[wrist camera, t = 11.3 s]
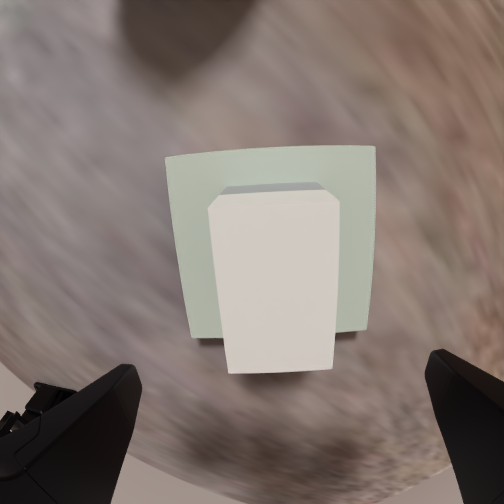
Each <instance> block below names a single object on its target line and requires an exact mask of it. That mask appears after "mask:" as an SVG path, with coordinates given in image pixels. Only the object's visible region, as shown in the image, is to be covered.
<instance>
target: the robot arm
mask: <svg viewBox="0 0 504 504" xmlns="http://www.w3.org/2000/svg"><path fill="white" fill-rule="evenodd" d="M425 380H426V383H427V387H428V391H429V394H430V398H431V402H432V406H433V410H434V413H435V417H436V420H437V423H438V425H439V428H440V431H441V434H442V436H443V439H444V442H445V445H446V448H447V451H448V454H449V457H450V460H451V463H452V466H453V469H454V472H455V475H456V479H457V482H458V485H459V489H460V492H461V496H462V499H463V503H464V504H504V382H503V381H501V380H499V379H498V378H496V377H494V376H492V375H490V374H489V373H487V372H485V371H483V370H481V369H479V368H478V367H476V366H474V365H472V364H470V363H469V362H467V361H465V360H463V359H461V358H459V357H458V356H456V355H454V354H452V353H450V352H448V351H447V350H445V349H438V350H433V351H432V352H431V353H430V356H429V359H428V363H427V366H426V369H425ZM34 388H35V389H36V393H35V394H34V395H33V397H32V398H31V399H30V401H29V402H28V403H27V405H26V406H25V409H26V410H25V412H24V413H23V414H22V416H20V414H19V413H18V412H17V411H16V412H15V413H12V412H10V411H7V412H6V414H5V415H4V416H3V418H2V419H1V420H0V504H111V500H112V497H113V493H114V490H115V487H116V484H117V480H118V477H119V474H120V470H121V467H122V464H123V461H124V458H125V455H126V452H127V449H128V446H129V443H130V440H131V437H132V433H133V430H134V426H135V421H136V416H137V411H138V407H139V402H140V397H141V393H142V384H141V381H140V378H139V376H138V373H137V370H136V367H135V366H134V365H132V364H120V365H119V366H117V367H116V368H114V369H113V370H111V371H110V372H108V373H107V374H105V375H103V376H102V377H100V378H99V379H97V380H96V381H94V382H93V383H91V384H90V385H88V386H86V387H85V388H83V389H82V390H80V391H79V392H76V391H74V390H71V389H66V388H61V387H56V386H52V385H47V384H43V383H39V382H35V383H34ZM10 430H12V432H11V431H10Z"/></svg>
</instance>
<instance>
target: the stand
mask: <svg viewBox="0 0 504 504" xmlns="http://www.w3.org/2000/svg"><path fill="white" fill-rule="evenodd" d="M165 165H166V174H167V183H168V192H169V200H170V208H171V216H172V224H173V231H174V238H175V245H176V252H177V258H178V265H179V271H180V277H181V283H182V289H183V295H184V300H185V306H186V311H187V317H188V322H189V327H190V332H191V337H192V338H223V331H222V324H221V317H220V309H219V302H218V294H217V286H216V278H215V270H214V261H213V253H212V244H211V235H210V226H209V216H208V207H209V206H210V205H211V204H212V202H213V201H214V200H215V199H216V198H217V197H218V196H219V195H220V194H221V192H222V191H223V190H224V189H225V188H226V187H227V186H240V185H256V184H274V183H296V182H317V183H318V184H320V185H321V186H322V187H323V188H324V189H326V190H327V191H328V192H329V193H330V194H332V195H333V196H334V197H335V198H336V199H338V200H339V201H340V234H339V275H338V297H337V315H336V329H335V333H338V332H349V331H360V330H367V322H368V313H369V304H370V294H371V283H372V271H373V256H374V239H375V211H376V157H375V146H359V145H323V146H287V147H266V148H250V149H237V150H225V151H214V152H204V153H194V154H185V155H177V156H171V157H165Z"/></svg>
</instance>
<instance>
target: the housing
mask: <svg viewBox="0 0 504 504" xmlns="http://www.w3.org/2000/svg"><path fill="white" fill-rule="evenodd" d="M208 216H209V226H210V235H211V244H212V253H213V261H214V270H215V278H216V286H217V294H218V302H219V309H220V317H221V324H222V331H223V339H224V346H225V353H226V359H227V366H228V373H276V372H296V371H311V370H324V369H332V365H333V354H334V343H335V329H336V315H337V297H338V275H339V234H340V201H339V200H338V199H336V198H335V197H334V196H333V195H332V194H330V193H329V192H328V191H327V190H326V189H324V188H323V187H322V186H321V185H320V184H318V183H317V182H296V183H274V184H256V185H240V186H227V187H226V188H225V189H224V190H223V191H222V192H221V194H220V195H219V196H218V197H217V198H216V199H215V200H214V201H213V202H212V204H211V205H210V206H209V207H208Z"/></svg>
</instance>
